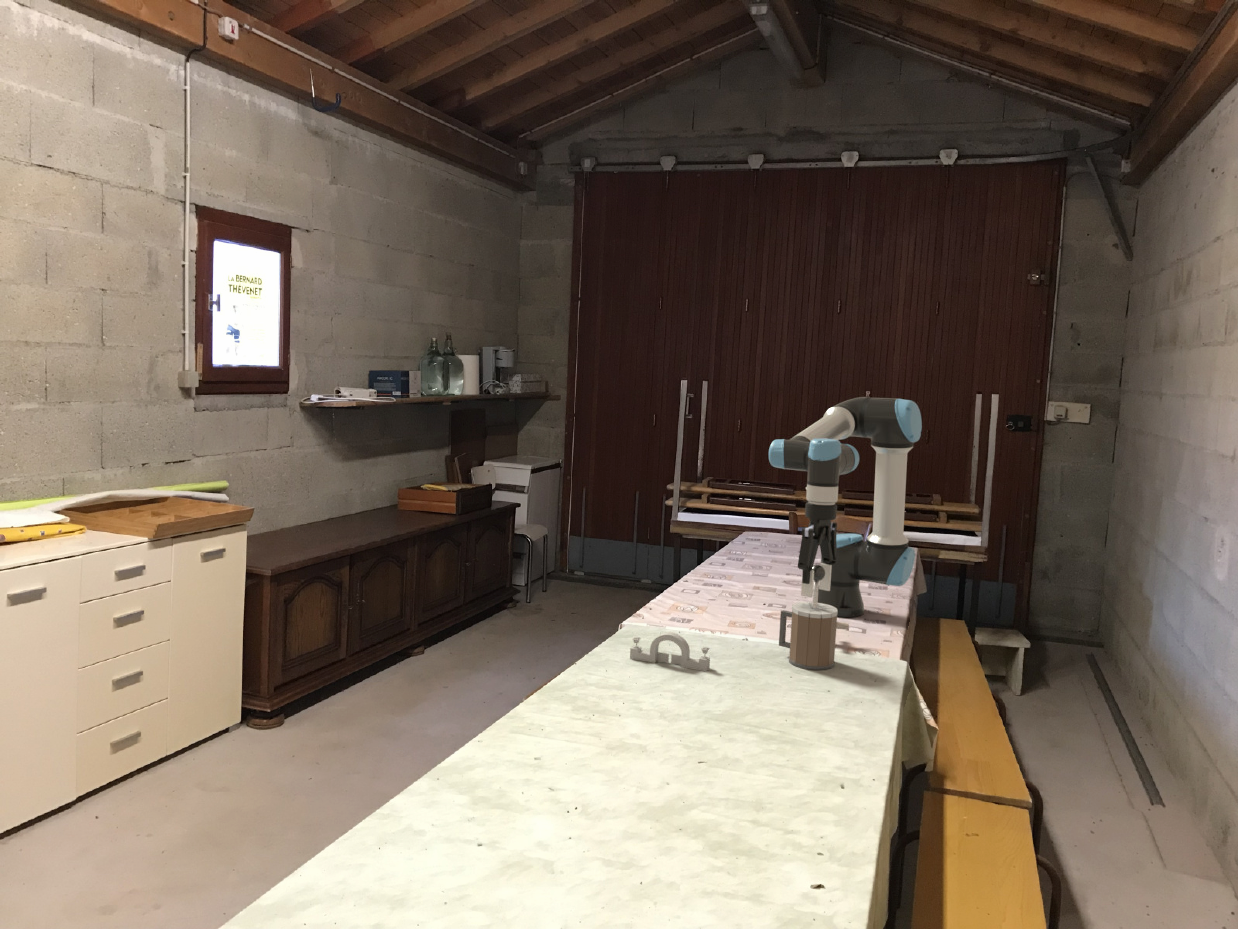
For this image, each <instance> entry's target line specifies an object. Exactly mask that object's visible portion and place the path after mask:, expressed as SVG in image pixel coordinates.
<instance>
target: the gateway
mask: <svg viewBox="0 0 1238 929" xmlns="http://www.w3.org/2000/svg"><path fill="white" fill-rule="evenodd" d="M632 640H633V643H634V644H635V645H632V646H631V647H630V648H629V649H630V651H629V659H631V660H637V661H643V662H647V661H648V663H656V662H660V661H661V663H666V664H669V662H670V663H671V664H673V665H674V664H675V665H680V664H681V665H680V667H681V668H685V667H687V668H686V669H692V670H697V671H698V670H699V671H705V672H707V671H708V670H709V669H710V663H711V657H710V656H706V654H708V652H709V650H710V649H711V648H710V647H708V646H702V648H701V651H702V654H704V655H703V656H701V657H699V658H691V657H690V655H691V651H690V650H691V649H690V645H689V643H688V641H687V640H686V639H685V638H684V637H683V636H681V635H680V634H678V633H675V632H671V631H670V632H664V633H661V634H660V635H658V636H657V637H655V638H654V640H653V641H652V642H651V644H650V648H649V651H647V650H642V646H639V645H638V644H639V643H640V640H641V637H640V636H634V637H633V638H632ZM664 641H668V642H669V641H670V642H672V643H674V644H676V646H678V647H679V649H680V651H681V652H680V653H681V654H674V653H673V654H672V653H671V657H670V653H665V652H659V646H660V643H661V642H664ZM669 660H670V661H669Z"/></svg>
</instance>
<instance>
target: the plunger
mask: <svg viewBox="0 0 1238 929" xmlns="http://www.w3.org/2000/svg"><path fill="white" fill-rule="evenodd" d="M812 570H813V571H814V581H813V597H812V602H813V605H812V609H816V610H817V604H818V588H819V581H820V580H822V579H823V578H824V577H825V570H824V568H823V567H822V566H820V564H814V565H813V568H812Z"/></svg>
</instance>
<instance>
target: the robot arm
mask: <svg viewBox="0 0 1238 929" xmlns="http://www.w3.org/2000/svg"><path fill="white" fill-rule="evenodd" d="M922 424H923V422H922V414H921V411H920V408H919V406H918V404H917V403H916V402H915V401H913V400H910V399H902V398H895V397H894V398H891V397H890V398H889V397H868V396H859V397H854V398H851V399H847V400H845V401H842V402H839V403H838V404H836V405H835V404H834V405H833V406H832V407H830V408H828V409H827V410H826V411H825V413H824V414H823V417H821V418H820V419H819V420H817V421H815V422H814V423H812V424H811V425H809V426H808V427H807V428H805V429H804V430H802V431H801V432H798V433H797V434H796V435H794V436H792V438H790V439H785V438H782V439H780V438H779V439H774V440H773V441H772V442H771V444H770V446H769V449H768V460H769V463H770V465H771V466H772V467H774V468H777V469H783V470H792V471H793V470H794V471H801V472H807V481H806V487H805V490H806V494H805V496H806V497H805V499H806V503H805V512H804V515H805V517H806V518H807V519H809V524H808V527H802V529H801V541H800V542H801V543H800V548H799V555H798V561H797V569H799V570H802V574H801V588H800V589H801V591H800V592H801V593H800V596H802V597H807V598H813V589H814V571H813V570H812V568H813V565H815V561H816V556H817V553H818V550H819V549H820V564H819V565H820V566H822V567H823V568H824V570H825V577H824V578H823V579H822V580H820V581H819V588H818V603H823V604H827V605H831V606H834V607H835V608H837V611H838V613H837V618H838V617H841V618H853V617H859V616H862V615H864V611H865V610H864V609H865V606H864V604H865V603H864V601H863V597H862V593H861V589H860V581H862V582H863V581H864V582H868V583H869V582H870V583H875V584H882V585H885V586H889V587H890V586H895V587H902V586H903V585H905V584H906V583H907V582H908V580H909V579H910V577H911V575H912V572H913V568H914V564H915V559H916V553H915V549H914V548H912V547H911V546H909V539H908V538H907V536H906V535H905V534H904V528H905V526H904V525H905V508H906V507H905V506H906V504H905V503H906V491H907V490H906V488H907V487H906V485H907V468H908V467H907V465H908V464H907V463H908V453H909V452H910V451H911V450H912V449H913V448H914V444H915V443H916V442H918V441H919V440H920V438H921V435H922V433H921V432H922V428H923V425H922ZM850 437H857V438H864V439H865V438H866V439H870V440H871V441H870V446H871V447H872V448H873V450H874V451H875V471H874V472H875V473H874V494H873V495H874V496H873V514H872V532H871V533H870V534H869V535H868V536H867V537H866V541H865V540H864V537H863V535H862V534H859V533H837V528H838V523H837V522H833V521H834V520H836V519H837V514H838V513H837V511H838V505H837V504H836V503H837V502H838V498H839V481H840V476H841V475H846V474H849V473H851V472H853V471H855V469H857V467H858V465H859V463H860V454H859V452H858V450H857V449H856V447H854V446H853V445H851V444H848V443H841V441H840V440H845V439H848V438H850Z"/></svg>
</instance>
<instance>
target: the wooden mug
mask: <svg viewBox="0 0 1238 929" xmlns="http://www.w3.org/2000/svg"><path fill="white" fill-rule="evenodd" d="M812 605H813V601H812V602H811V601H804V602H796V603H794V604H792V607H791V611H790V610H785V609H783V610H780V619H779V637H778V646H779V647H782V648H787V649H789V656H788V663H789V664H791V665H792V666H793V667H796V668H799V669H803V670H809V671H825V670H827V671H828V670H830V669H832V668H834V666H835V655H836V654H835V652H836V639H837V629H836V625H837V622H838V617H837V613H838V611H837V608H835V607H833V606H831V605H827V604H823V603H818V604H817V610H816V609H812ZM787 618H791V623H790V624H791V625H790V627H791V628H790V639H789V640H790V641H789V642H788V641H786V636H787V634H786V632H787Z"/></svg>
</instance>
